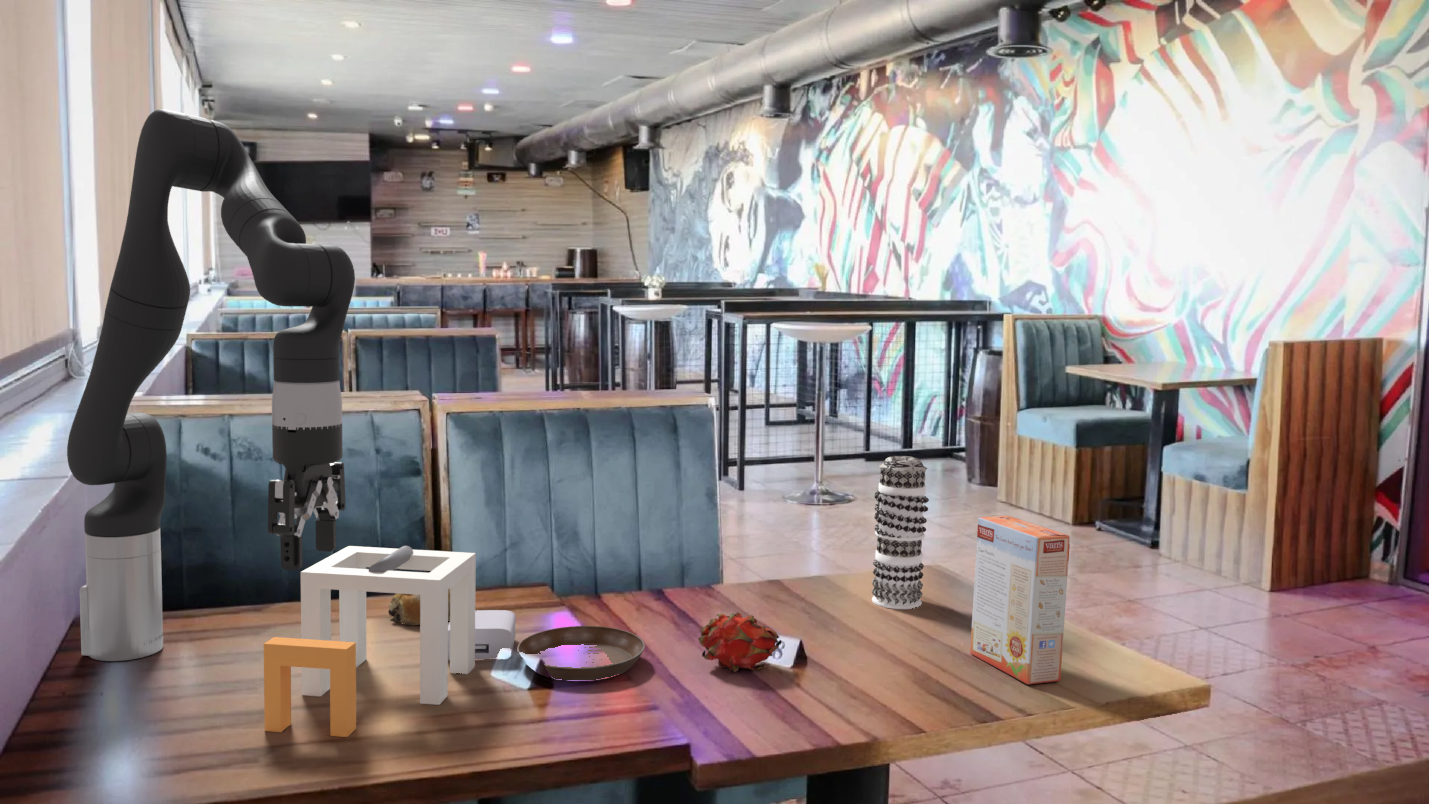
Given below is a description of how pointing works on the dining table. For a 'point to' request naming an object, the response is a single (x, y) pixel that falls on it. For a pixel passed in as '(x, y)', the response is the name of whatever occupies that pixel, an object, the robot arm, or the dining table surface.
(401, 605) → the bread roll
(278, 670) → the orange arch block
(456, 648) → the white square table frame
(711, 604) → the dining table surface
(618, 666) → the plant saucer
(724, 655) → the dragon fruit
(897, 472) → the decorative candle
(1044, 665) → the cracker box
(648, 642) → the dining table surface
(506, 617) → the charger
